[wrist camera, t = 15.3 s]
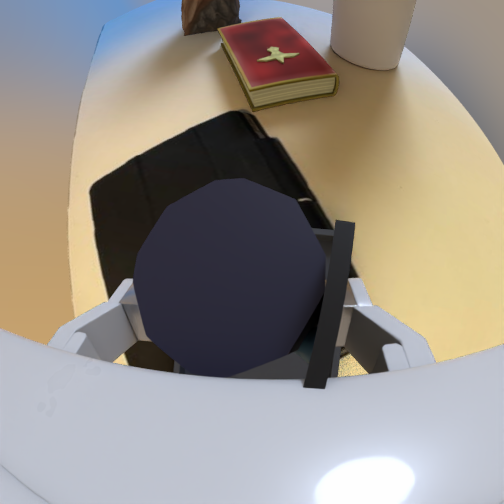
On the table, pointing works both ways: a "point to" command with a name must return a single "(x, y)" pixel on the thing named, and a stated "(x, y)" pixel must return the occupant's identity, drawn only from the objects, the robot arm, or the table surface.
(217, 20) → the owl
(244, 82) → the hardcover book
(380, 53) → the cylinder vase
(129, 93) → the table surface
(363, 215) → the table surface
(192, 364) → the speaker
